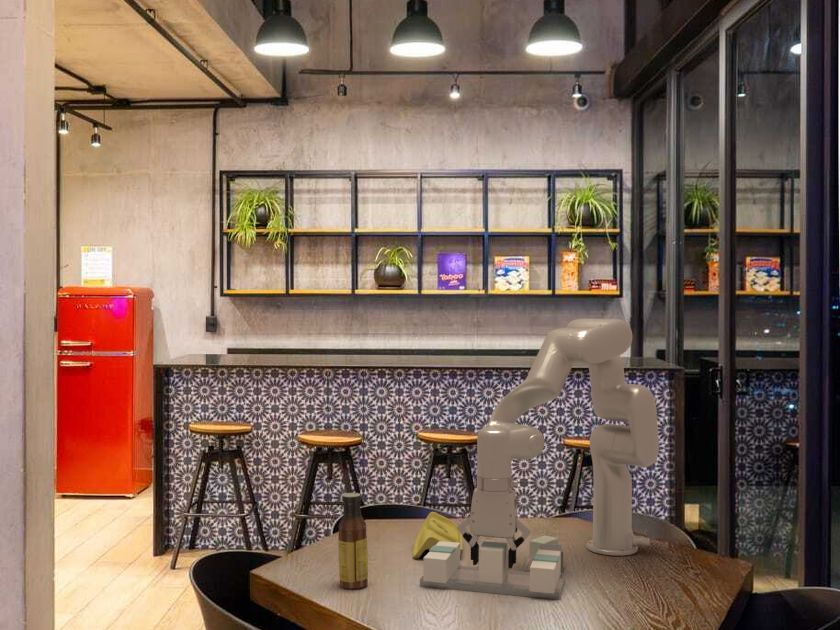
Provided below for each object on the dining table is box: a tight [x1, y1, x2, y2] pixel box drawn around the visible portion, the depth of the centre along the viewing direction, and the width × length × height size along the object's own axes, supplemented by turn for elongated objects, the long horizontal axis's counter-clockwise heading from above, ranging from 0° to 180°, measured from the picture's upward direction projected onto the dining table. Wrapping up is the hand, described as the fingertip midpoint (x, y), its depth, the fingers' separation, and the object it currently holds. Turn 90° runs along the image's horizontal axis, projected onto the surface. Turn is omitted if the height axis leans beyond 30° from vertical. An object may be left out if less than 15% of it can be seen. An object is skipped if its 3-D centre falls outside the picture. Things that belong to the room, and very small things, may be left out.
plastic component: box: [411, 511, 464, 560], centre depth 210 cm, size 20×7×10 cm
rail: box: [419, 565, 566, 601], centre depth 183 cm, size 30×12×2 cm, turn 75°
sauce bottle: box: [338, 492, 369, 590], centre depth 181 cm, size 7×6×20 cm
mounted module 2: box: [529, 549, 562, 594], centre depth 180 cm, size 5×14×5 cm, turn 165°
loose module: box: [478, 539, 509, 584], centre depth 183 cm, size 5×8×7 cm, turn 165°
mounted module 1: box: [422, 541, 461, 583], centre depth 186 cm, size 5×14×5 cm, turn 165°
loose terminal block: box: [529, 535, 559, 558], centre depth 206 cm, size 4×7×4 cm, turn 141°
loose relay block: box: [540, 544, 564, 574], centre depth 194 cm, size 5×6×5 cm
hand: (493, 564), depth 183 cm, fingers open, 7 cm apart
